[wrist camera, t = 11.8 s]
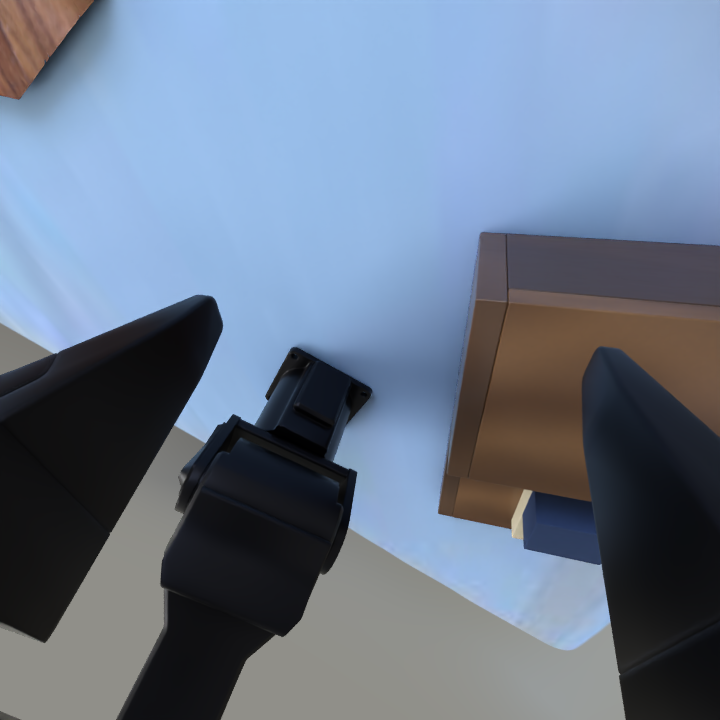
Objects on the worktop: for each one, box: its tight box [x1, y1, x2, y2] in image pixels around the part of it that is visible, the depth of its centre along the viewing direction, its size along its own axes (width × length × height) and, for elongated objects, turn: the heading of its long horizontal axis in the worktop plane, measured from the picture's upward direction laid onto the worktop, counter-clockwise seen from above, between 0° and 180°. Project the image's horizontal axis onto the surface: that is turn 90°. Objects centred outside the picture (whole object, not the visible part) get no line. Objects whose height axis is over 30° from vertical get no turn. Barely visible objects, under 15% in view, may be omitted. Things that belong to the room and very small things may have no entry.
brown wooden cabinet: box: [438, 232, 720, 529], centre depth 24 cm, size 24×16×6 cm, turn 3°
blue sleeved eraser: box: [511, 489, 601, 565], centre depth 27 cm, size 9×5×4 cm, turn 3°
